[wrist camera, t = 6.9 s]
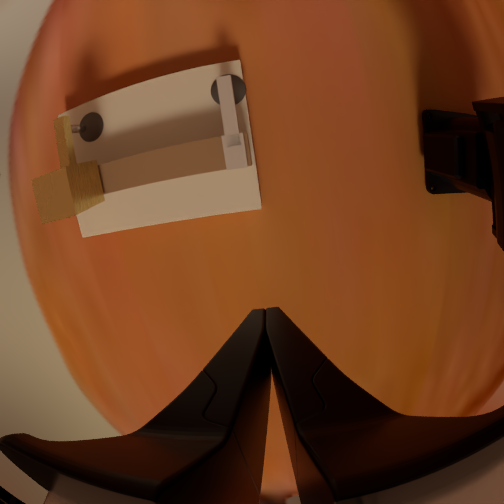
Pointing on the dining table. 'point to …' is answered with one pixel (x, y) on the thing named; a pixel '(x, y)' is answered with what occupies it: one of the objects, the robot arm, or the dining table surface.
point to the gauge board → (162, 128)
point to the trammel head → (67, 179)
